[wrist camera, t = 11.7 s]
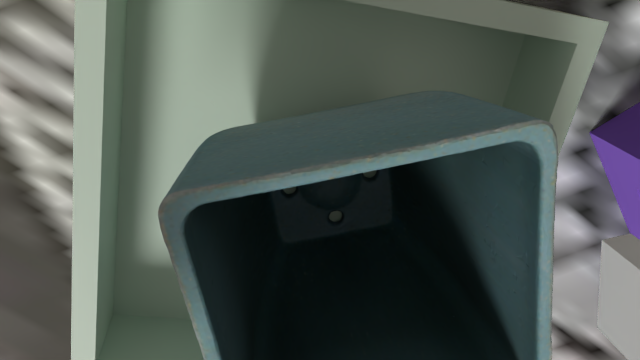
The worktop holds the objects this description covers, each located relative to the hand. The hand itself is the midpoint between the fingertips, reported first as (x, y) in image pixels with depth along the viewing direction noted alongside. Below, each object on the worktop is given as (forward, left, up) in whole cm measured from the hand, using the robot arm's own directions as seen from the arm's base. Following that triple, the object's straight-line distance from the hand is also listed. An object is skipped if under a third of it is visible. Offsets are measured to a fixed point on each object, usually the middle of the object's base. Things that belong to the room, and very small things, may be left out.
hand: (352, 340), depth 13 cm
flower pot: (+1, 0, -9) cm, 9 cm away
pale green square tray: (0, 0, -10) cm, 10 cm away
